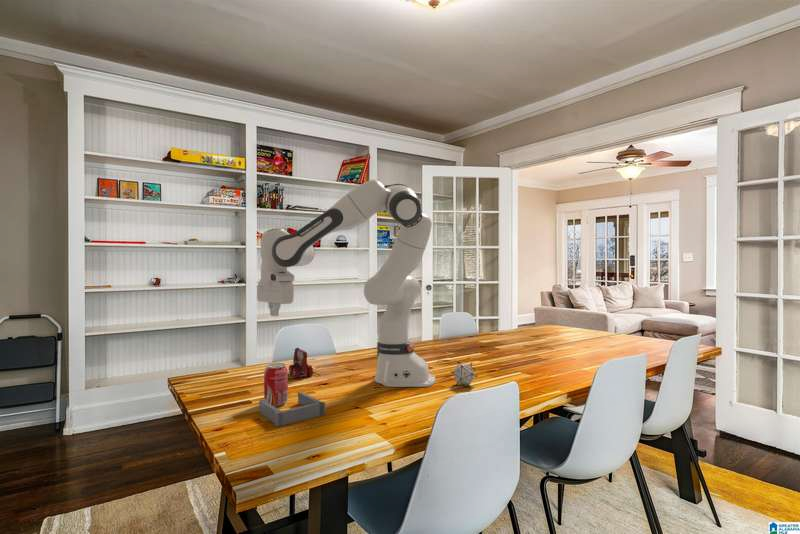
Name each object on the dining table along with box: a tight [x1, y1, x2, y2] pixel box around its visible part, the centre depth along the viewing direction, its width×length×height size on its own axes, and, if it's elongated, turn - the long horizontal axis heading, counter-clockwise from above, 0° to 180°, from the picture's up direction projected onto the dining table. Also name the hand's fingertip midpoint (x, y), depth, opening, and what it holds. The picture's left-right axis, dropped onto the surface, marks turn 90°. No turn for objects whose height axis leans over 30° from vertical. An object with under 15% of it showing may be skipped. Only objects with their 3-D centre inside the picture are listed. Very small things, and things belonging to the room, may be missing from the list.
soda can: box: [263, 362, 289, 407], centre depth 134 cm, size 7×7×12 cm
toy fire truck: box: [288, 347, 314, 379], centre depth 168 cm, size 7×12×10 cm, turn 31°
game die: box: [450, 361, 478, 388], centre depth 153 cm, size 9×8×10 cm
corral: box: [258, 391, 326, 428], centre depth 126 cm, size 14×15×4 cm
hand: (274, 315), depth 150 cm, fingers closed
